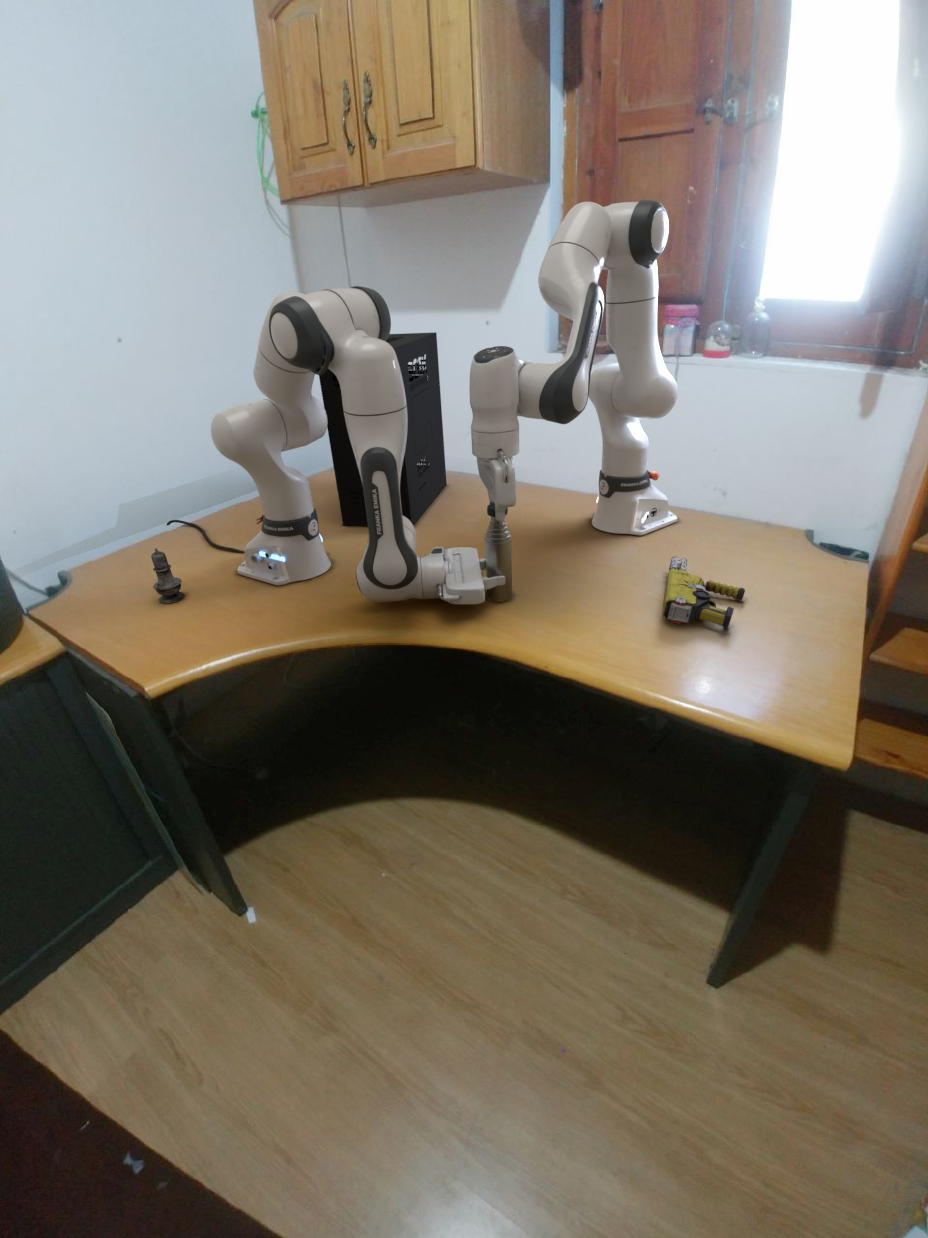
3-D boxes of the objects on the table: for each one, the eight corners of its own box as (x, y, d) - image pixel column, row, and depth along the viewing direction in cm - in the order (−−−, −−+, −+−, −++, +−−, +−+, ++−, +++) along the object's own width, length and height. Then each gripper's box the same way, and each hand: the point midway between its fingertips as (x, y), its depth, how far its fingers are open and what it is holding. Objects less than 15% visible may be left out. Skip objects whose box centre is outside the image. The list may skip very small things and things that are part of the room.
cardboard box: (411, 527, 164) (393, 348, 142) (343, 525, 169) (314, 350, 146) (446, 484, 196) (436, 332, 173) (387, 483, 200) (370, 334, 178)
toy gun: (744, 566, 127) (671, 553, 131) (753, 616, 107) (666, 600, 111) (738, 586, 129) (666, 573, 133) (745, 639, 109) (660, 622, 113)
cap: (511, 511, 119) (511, 504, 118) (501, 518, 116) (501, 510, 115) (493, 508, 121) (493, 501, 120) (483, 515, 118) (483, 507, 117)
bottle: (515, 593, 129) (515, 507, 119) (506, 604, 125) (504, 516, 115) (493, 588, 131) (490, 504, 121) (482, 599, 127) (479, 513, 117)
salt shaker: (175, 604, 132) (159, 554, 126) (152, 603, 133) (134, 553, 127) (191, 592, 137) (176, 543, 131) (168, 591, 138) (152, 542, 132)
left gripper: (436, 585, 114) (509, 580, 114) (434, 543, 132) (497, 539, 132) (438, 614, 117) (509, 609, 118) (436, 569, 135) (498, 565, 135)
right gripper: (524, 456, 103) (524, 532, 110) (501, 430, 121) (503, 496, 128) (488, 459, 102) (490, 535, 109) (470, 432, 120) (473, 499, 127)
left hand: (503, 572), depth 125 cm, fingers closed on bottle, 5 cm apart
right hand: (497, 514), depth 119 cm, fingers closed on cap, 4 cm apart
